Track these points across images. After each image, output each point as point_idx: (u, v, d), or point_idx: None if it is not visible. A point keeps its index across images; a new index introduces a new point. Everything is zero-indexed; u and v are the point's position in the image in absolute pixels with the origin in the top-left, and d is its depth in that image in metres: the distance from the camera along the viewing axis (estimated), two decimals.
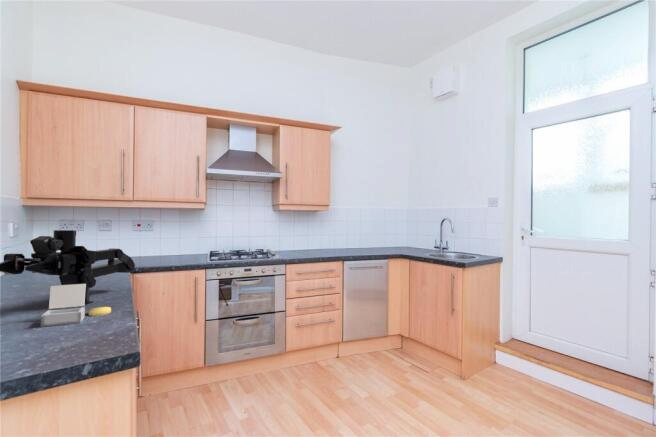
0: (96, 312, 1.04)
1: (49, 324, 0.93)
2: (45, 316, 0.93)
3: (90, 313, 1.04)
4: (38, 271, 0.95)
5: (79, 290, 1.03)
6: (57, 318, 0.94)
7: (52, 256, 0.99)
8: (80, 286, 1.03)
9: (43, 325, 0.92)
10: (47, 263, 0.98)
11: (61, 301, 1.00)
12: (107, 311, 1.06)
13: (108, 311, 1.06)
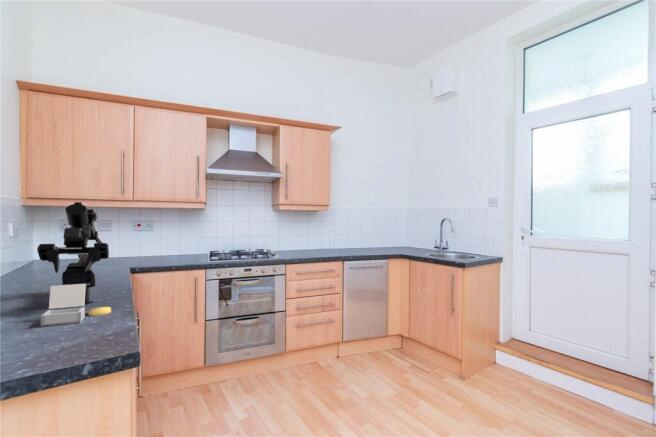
0: (96, 312, 1.04)
1: (49, 324, 0.93)
2: (45, 316, 0.93)
3: (90, 313, 1.04)
4: (90, 265, 1.10)
5: (79, 290, 1.03)
6: (57, 318, 0.94)
7: (93, 249, 1.11)
8: (80, 286, 1.03)
9: (43, 325, 0.92)
10: None
11: (61, 301, 1.00)
12: (107, 311, 1.06)
13: (108, 311, 1.06)
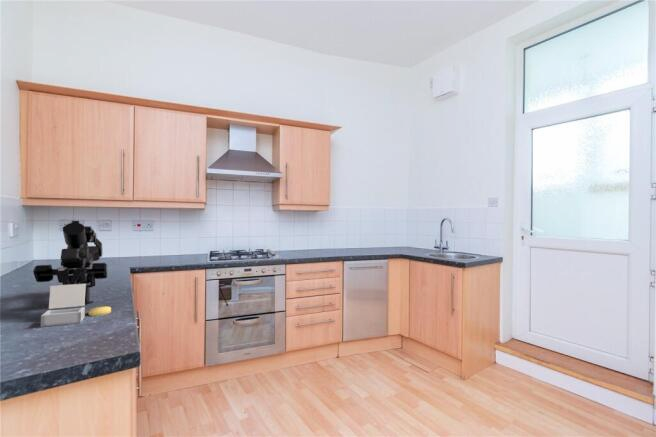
0: (96, 312, 1.04)
1: (49, 324, 0.93)
2: (45, 316, 0.93)
3: (90, 313, 1.04)
4: None
5: (79, 290, 1.03)
6: (57, 318, 0.94)
7: (78, 271, 1.05)
8: (80, 286, 1.03)
9: (43, 325, 0.92)
10: None
11: (61, 301, 1.00)
12: (107, 311, 1.06)
13: (108, 311, 1.06)
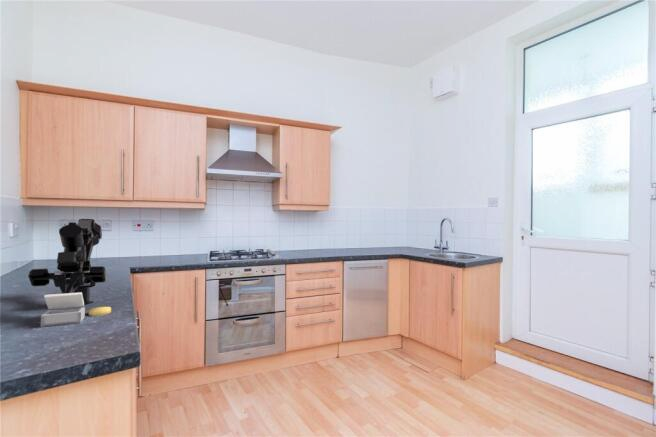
0: (95, 311, 1.04)
1: (49, 324, 0.93)
2: (45, 316, 0.93)
3: (90, 312, 1.04)
4: (72, 292, 1.01)
5: (76, 298, 0.99)
6: (57, 318, 0.94)
7: (75, 275, 1.02)
8: (76, 296, 0.98)
9: (43, 325, 0.92)
10: None
11: (59, 304, 0.98)
12: (106, 311, 1.06)
13: (107, 311, 1.06)
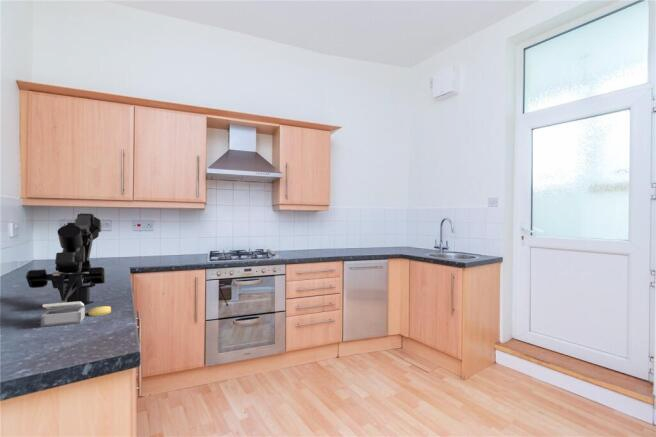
0: (94, 312, 1.04)
1: (49, 324, 0.93)
2: (45, 316, 0.93)
3: (89, 313, 1.04)
4: (70, 294, 0.99)
5: (75, 305, 0.98)
6: (57, 318, 0.94)
7: (74, 276, 1.00)
8: (75, 304, 0.97)
9: (43, 325, 0.92)
10: None
11: (59, 307, 0.98)
12: (105, 311, 1.05)
13: (107, 311, 1.06)
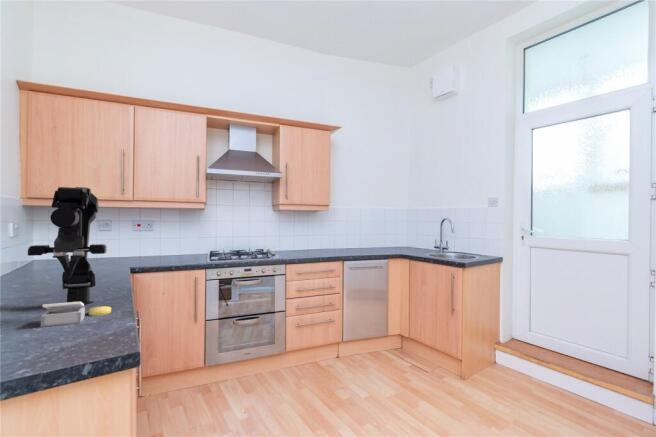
0: (92, 311, 1.04)
1: (49, 324, 0.93)
2: (45, 316, 0.93)
3: (89, 311, 1.05)
4: (74, 267, 1.04)
5: (75, 305, 0.98)
6: (57, 318, 0.94)
7: (76, 256, 1.01)
8: (75, 304, 0.97)
9: (43, 325, 0.92)
10: None
11: (59, 307, 0.98)
12: (103, 312, 1.05)
13: (104, 312, 1.05)
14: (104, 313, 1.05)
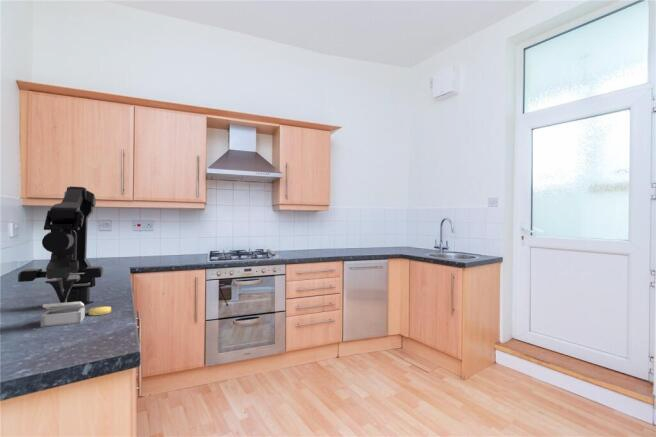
0: (89, 310, 1.05)
1: (49, 324, 0.93)
2: (45, 316, 0.93)
3: None
4: (69, 291, 0.97)
5: (75, 305, 0.98)
6: (57, 318, 0.94)
7: (70, 281, 0.94)
8: (75, 304, 0.97)
9: (43, 325, 0.92)
10: None
11: (59, 307, 0.98)
12: (97, 311, 1.04)
13: (98, 311, 1.04)
14: (98, 313, 1.04)
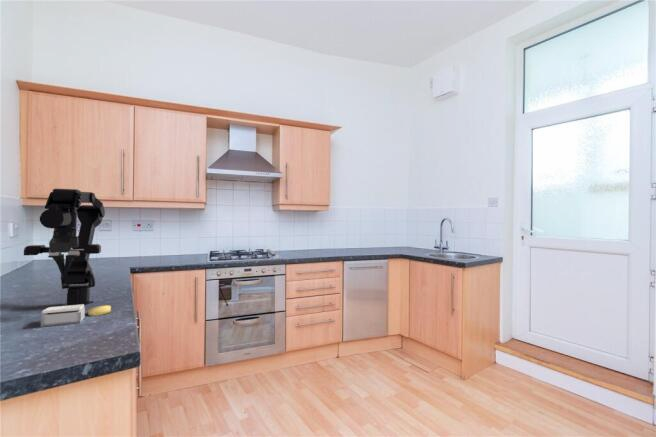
0: None
1: (49, 324, 0.93)
2: (45, 316, 0.93)
3: None
4: (69, 266, 1.07)
5: None
6: (57, 318, 0.94)
7: (71, 256, 1.04)
8: None
9: (43, 325, 0.92)
10: None
11: None
12: (88, 311, 1.05)
13: (88, 312, 1.05)
14: (88, 313, 1.05)
